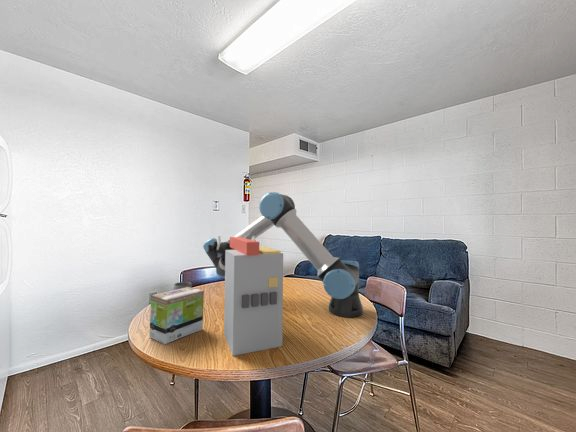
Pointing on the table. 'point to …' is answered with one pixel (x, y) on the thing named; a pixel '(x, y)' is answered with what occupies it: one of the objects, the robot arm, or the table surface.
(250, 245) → the bar
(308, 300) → the table surface
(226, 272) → the breaker panel
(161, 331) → the tea box
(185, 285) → the cup
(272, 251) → the ochre pad
